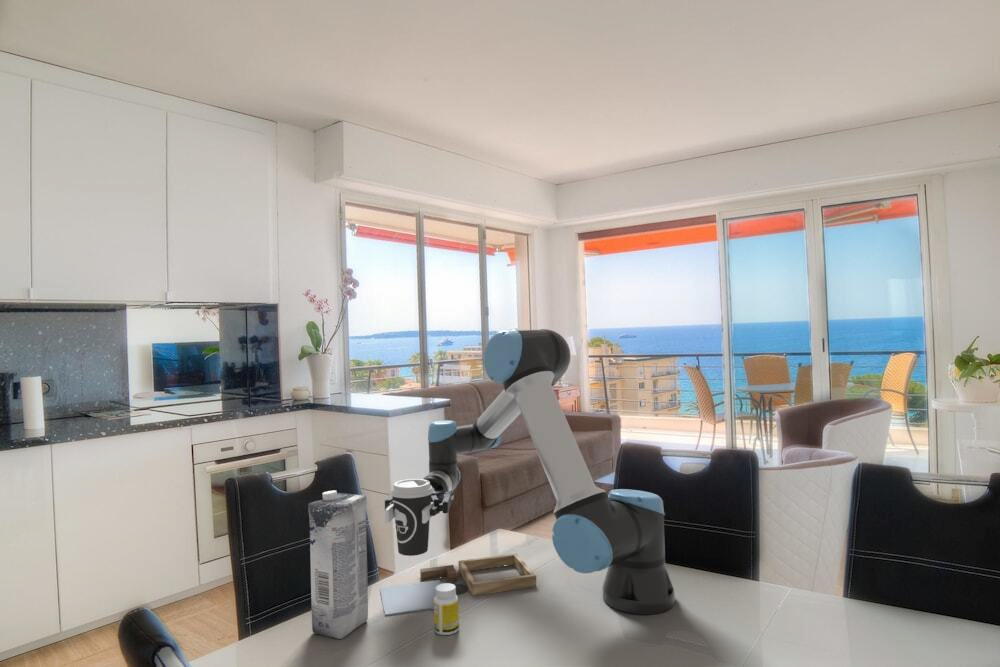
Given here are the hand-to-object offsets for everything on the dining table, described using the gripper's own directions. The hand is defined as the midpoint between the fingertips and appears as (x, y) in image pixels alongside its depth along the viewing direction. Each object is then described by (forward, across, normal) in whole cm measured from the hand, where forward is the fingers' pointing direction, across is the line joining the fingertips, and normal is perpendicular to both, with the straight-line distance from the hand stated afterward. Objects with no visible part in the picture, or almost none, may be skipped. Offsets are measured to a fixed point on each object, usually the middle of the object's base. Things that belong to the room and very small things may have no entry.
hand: (405, 516), depth 128 cm
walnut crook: (-15, -3, -19) cm, 25 cm away
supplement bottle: (+9, -11, -20) cm, 24 cm away
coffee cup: (-5, 0, -9) cm, 10 cm away
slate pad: (-5, 0, -19) cm, 20 cm away
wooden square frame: (-17, -16, -19) cm, 30 cm away
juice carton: (+10, +11, -20) cm, 24 cm away
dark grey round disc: (-10, -9, -19) cm, 23 cm away
